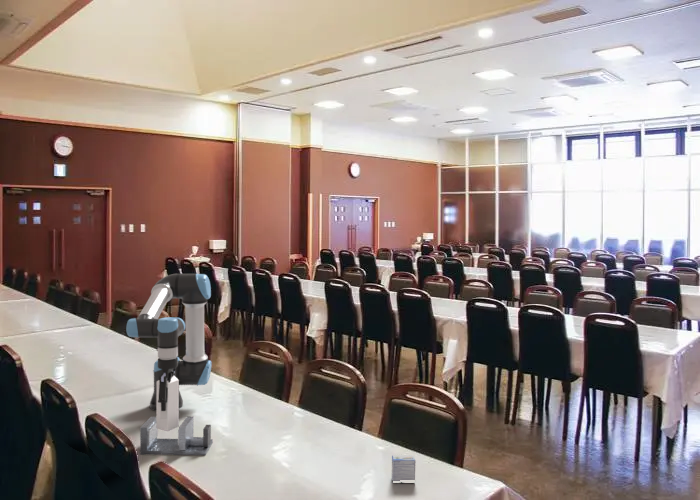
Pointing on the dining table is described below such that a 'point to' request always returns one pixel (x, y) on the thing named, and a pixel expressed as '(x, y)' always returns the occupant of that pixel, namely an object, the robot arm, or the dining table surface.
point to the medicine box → (403, 467)
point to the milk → (169, 406)
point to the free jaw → (187, 435)
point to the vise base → (164, 442)
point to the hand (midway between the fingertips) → (167, 414)
